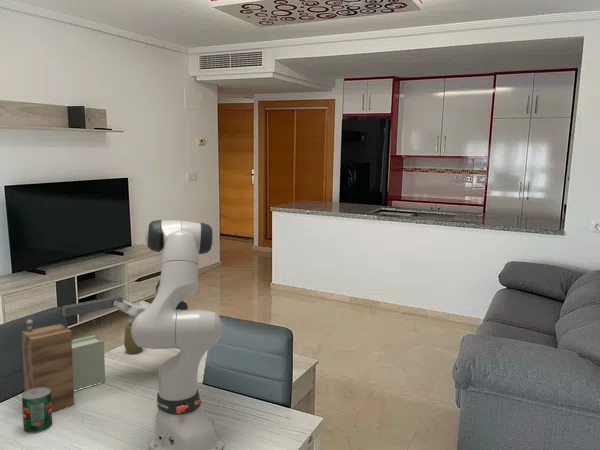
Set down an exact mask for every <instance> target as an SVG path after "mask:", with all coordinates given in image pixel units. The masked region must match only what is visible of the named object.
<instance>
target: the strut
mask: <svg viewBox="0 0 600 450" xmlns="http://www.w3.org/2000/svg"><path fill="white" fill-rule="evenodd" d="M114 300H115V301H118V302H121V303H123V300H124V299H123V297H122V296H120V295H117V296H111V297H106V298H105V297H104V298H100V299H95V300H89V301H84V302H79V303H72V304H67V305H63V306H61V314H62V316H63V317H73V316H77V315H82V314H86V313H91V312H92V313H93V312H97V311H102V310H108V309H112V308H114V307H116V306H114V305H112V303H113V301H114Z"/></svg>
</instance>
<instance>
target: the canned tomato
mask: <svg viewBox="0 0 600 450" xmlns="http://www.w3.org/2000/svg"><path fill="white" fill-rule="evenodd" d="M21 405H22V423H23V424H22V425H23V429H22V430H23V431H24V432H25V433H27V434H38V433H42V432H45V431H46V430H48V429H50V428H51V427H52V426H53V412H52V407H51V389H50V388H47V387H37V388H32V389H29V390H27V391H24V392H23V393H22V394H21Z"/></svg>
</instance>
